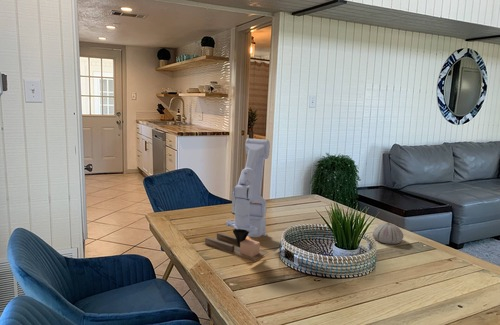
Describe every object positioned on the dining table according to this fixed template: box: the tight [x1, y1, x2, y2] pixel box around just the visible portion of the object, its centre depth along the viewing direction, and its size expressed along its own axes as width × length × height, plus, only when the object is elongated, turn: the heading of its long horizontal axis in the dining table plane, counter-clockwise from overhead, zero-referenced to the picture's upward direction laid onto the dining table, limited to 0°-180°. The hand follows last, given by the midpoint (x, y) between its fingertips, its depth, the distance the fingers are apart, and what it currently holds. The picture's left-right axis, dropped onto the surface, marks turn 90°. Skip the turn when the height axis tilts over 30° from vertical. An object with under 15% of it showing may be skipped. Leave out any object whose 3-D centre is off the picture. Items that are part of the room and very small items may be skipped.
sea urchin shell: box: [372, 222, 404, 245], centre depth 176 cm, size 13×14×8 cm
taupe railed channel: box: [202, 231, 269, 264], centre depth 159 cm, size 14×26×4 cm, turn 55°
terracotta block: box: [240, 238, 261, 257], centre depth 154 cm, size 5×6×4 cm
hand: (240, 246), depth 157 cm, fingers closed
